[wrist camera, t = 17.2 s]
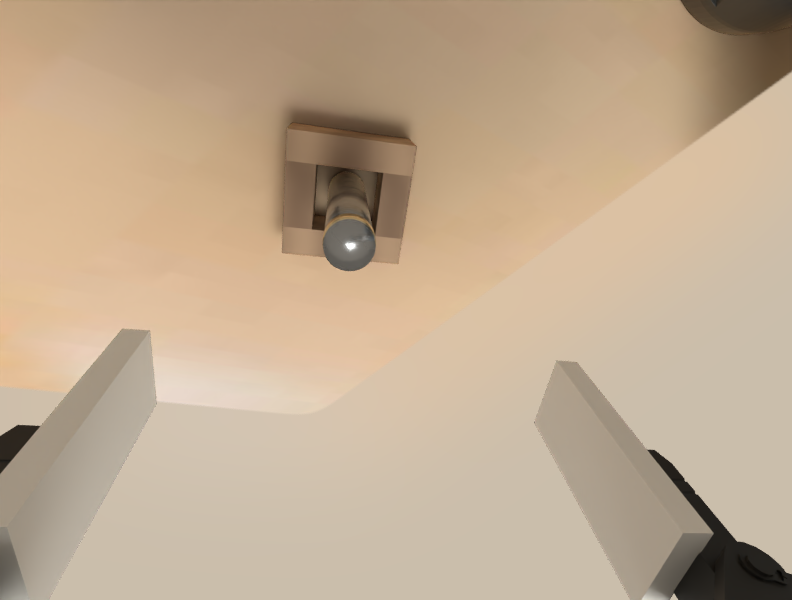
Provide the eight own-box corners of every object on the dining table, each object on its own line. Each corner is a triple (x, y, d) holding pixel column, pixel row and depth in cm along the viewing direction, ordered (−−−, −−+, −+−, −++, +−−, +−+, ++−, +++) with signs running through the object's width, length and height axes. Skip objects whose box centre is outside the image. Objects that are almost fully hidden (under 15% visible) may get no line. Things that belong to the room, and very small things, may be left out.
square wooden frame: (409, 139, 38) (416, 146, 34) (393, 247, 42) (398, 264, 38) (292, 122, 36) (286, 128, 33) (286, 236, 40) (281, 253, 37)
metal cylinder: (368, 175, 39) (381, 225, 26) (361, 210, 40) (371, 275, 27) (331, 167, 38) (326, 216, 26) (325, 204, 39) (318, 267, 27)
